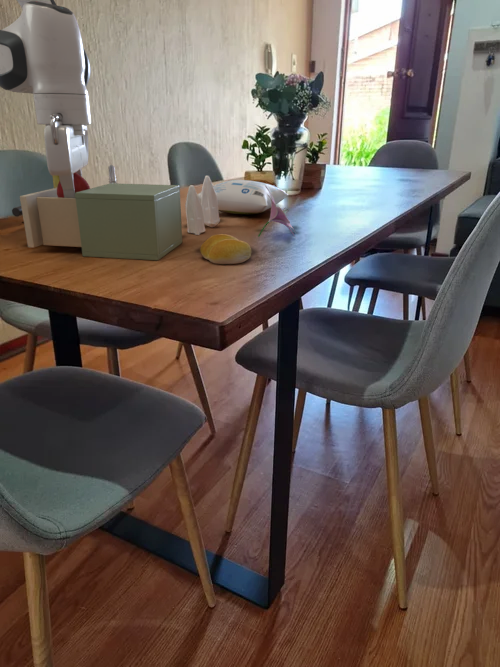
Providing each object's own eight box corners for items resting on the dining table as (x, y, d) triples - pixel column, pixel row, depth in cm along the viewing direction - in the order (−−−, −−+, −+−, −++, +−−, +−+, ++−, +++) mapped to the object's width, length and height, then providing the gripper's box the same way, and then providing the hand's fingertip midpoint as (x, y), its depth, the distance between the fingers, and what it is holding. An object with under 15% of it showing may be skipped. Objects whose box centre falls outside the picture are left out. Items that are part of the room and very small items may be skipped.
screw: (131, 223, 116) (122, 227, 112) (111, 222, 117) (102, 226, 113) (126, 163, 111) (116, 165, 107) (105, 163, 112) (95, 165, 108)
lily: (280, 251, 97) (306, 205, 95) (231, 221, 100) (254, 177, 98) (295, 256, 108) (318, 216, 106) (250, 229, 111) (271, 190, 109)
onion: (66, 217, 89) (59, 169, 86) (55, 212, 94) (49, 167, 90) (98, 213, 93) (92, 167, 90) (86, 209, 97) (81, 165, 94)
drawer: (6, 246, 91) (-4, 195, 88) (44, 232, 102) (37, 186, 99) (94, 250, 88) (88, 198, 85) (123, 235, 100) (119, 189, 96)
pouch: (266, 187, 116) (288, 175, 134) (190, 186, 122) (220, 175, 139) (267, 222, 120) (288, 206, 137) (193, 219, 125) (222, 204, 143)
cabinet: (82, 256, 88) (74, 192, 84) (115, 239, 101) (110, 183, 97) (158, 260, 86) (153, 195, 82) (182, 242, 99) (179, 185, 94)
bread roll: (219, 268, 82) (218, 243, 80) (194, 256, 89) (193, 233, 87) (261, 261, 86) (262, 237, 85) (235, 250, 93) (234, 228, 92)
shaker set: (208, 223, 117) (207, 173, 112) (224, 225, 115) (224, 174, 111) (181, 233, 106) (178, 178, 102) (198, 235, 105) (196, 179, 101)
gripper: (72, 113, 78) (83, 205, 83) (90, 114, 96) (98, 189, 102) (29, 113, 77) (43, 206, 82) (55, 113, 95) (65, 189, 101)
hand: (74, 196), depth 92 cm, fingers closed on onion, 6 cm apart
